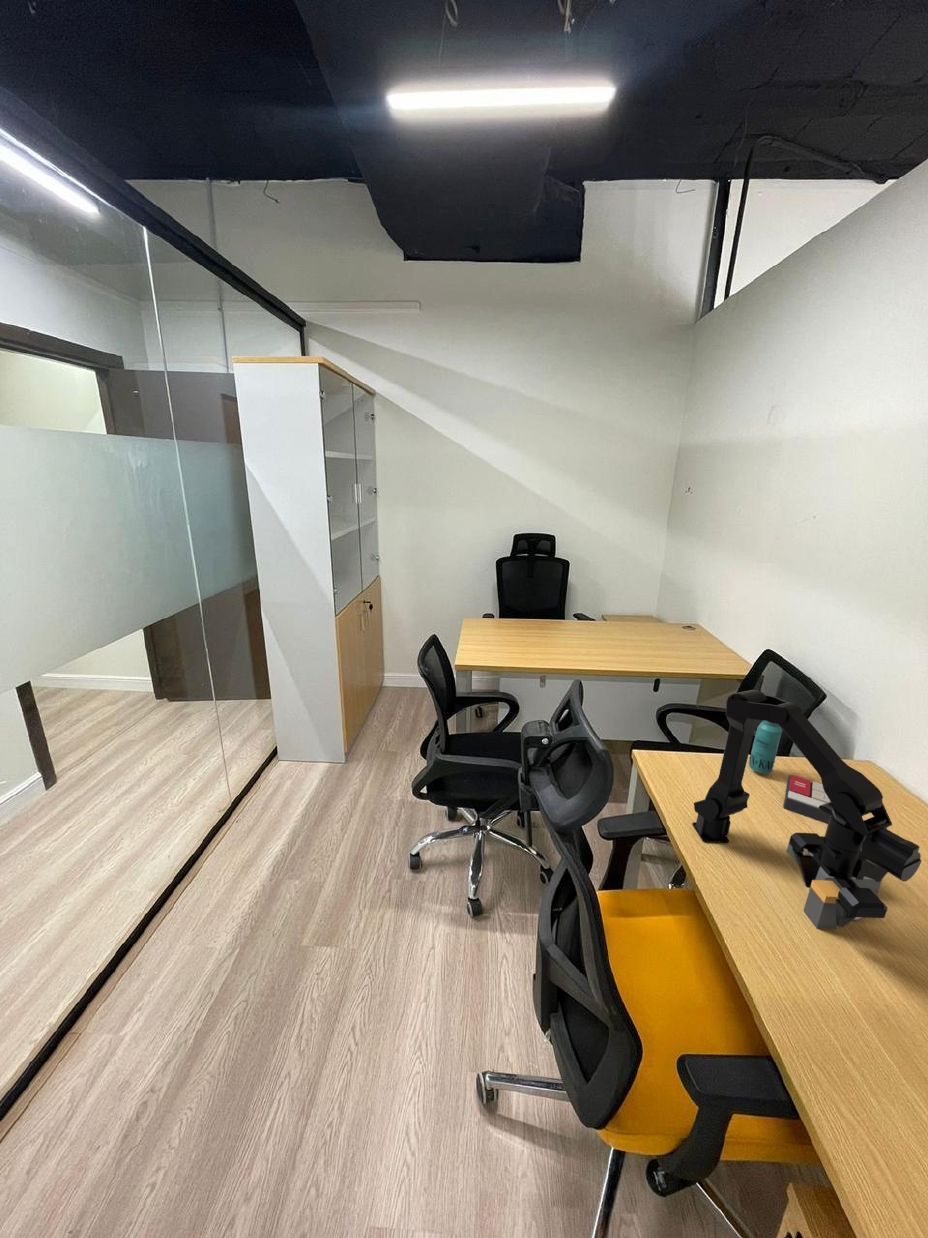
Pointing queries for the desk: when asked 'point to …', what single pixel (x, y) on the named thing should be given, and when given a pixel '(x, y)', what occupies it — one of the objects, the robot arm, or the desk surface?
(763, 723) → the beverage bottle
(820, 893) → the block
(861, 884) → the frame
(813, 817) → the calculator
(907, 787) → the desk surface
